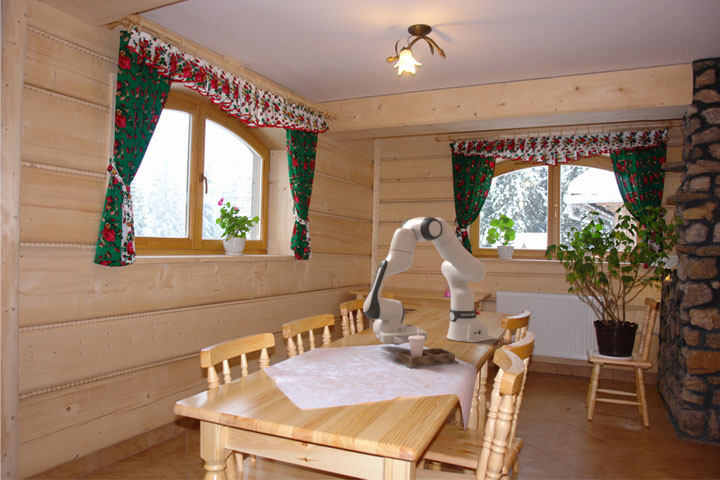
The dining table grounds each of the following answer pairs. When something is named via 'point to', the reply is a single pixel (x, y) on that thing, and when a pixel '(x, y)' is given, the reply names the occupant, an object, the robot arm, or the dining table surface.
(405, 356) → the tray
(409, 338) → the smoothie
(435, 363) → the mat
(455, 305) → the robot arm
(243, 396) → the dining table surface
